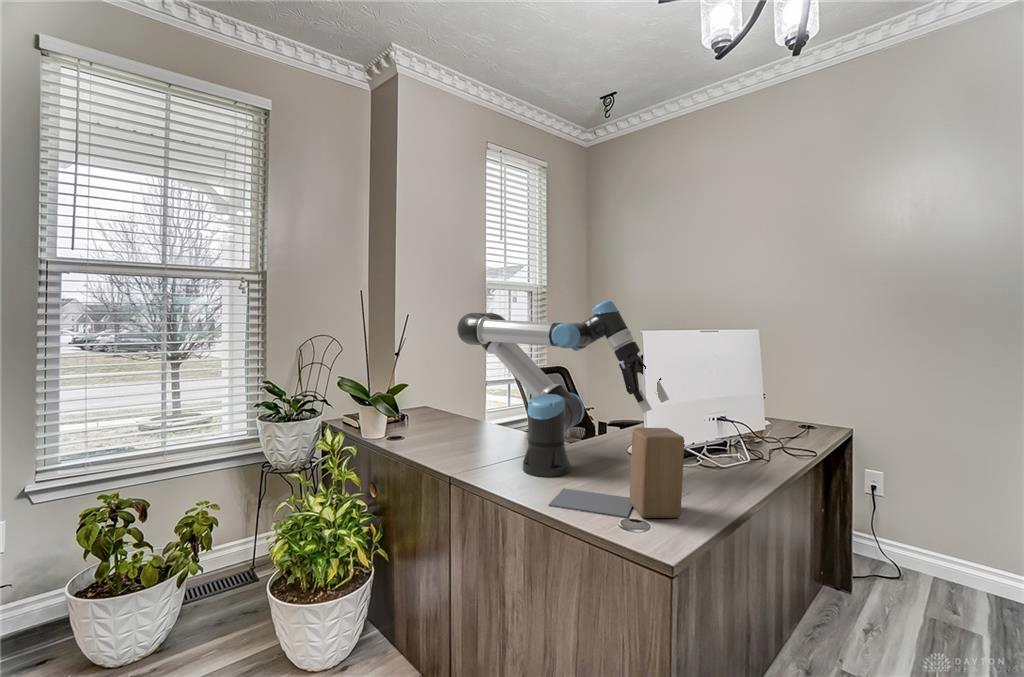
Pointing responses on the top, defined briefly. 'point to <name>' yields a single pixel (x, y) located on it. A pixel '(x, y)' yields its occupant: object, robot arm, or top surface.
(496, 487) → the top surface
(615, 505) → the mat
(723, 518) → the top surface
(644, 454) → the block
